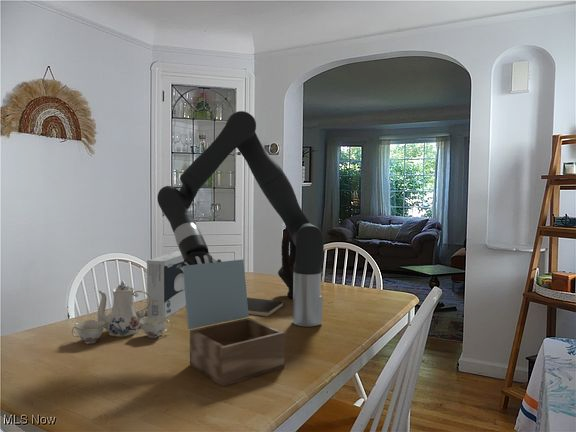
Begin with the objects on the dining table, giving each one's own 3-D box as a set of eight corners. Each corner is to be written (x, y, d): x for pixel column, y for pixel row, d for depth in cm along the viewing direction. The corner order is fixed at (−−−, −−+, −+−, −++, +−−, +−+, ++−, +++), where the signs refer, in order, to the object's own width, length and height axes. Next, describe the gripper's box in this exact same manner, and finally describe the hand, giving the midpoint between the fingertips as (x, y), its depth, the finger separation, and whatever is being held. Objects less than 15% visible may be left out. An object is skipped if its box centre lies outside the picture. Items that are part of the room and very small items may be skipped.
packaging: (163, 319, 155) (163, 261, 153) (147, 318, 156) (146, 260, 155) (198, 298, 184) (198, 249, 183) (184, 297, 186) (184, 248, 184)
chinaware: (71, 355, 125) (69, 298, 123) (72, 331, 140) (71, 279, 138) (174, 343, 137) (175, 290, 134) (165, 322, 152) (166, 273, 149)
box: (189, 364, 116) (189, 330, 115) (248, 349, 127) (248, 317, 127) (222, 386, 103) (222, 348, 103) (284, 367, 115) (284, 332, 114)
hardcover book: (267, 318, 160) (267, 311, 160) (210, 311, 168) (210, 304, 168) (283, 306, 175) (283, 301, 175) (230, 300, 183) (230, 295, 183)
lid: (189, 329, 115) (187, 328, 116) (248, 316, 126) (246, 316, 127) (184, 265, 116) (182, 265, 117) (243, 259, 128) (241, 259, 129)
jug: (294, 289, 203) (295, 222, 201) (330, 295, 192) (331, 224, 190) (265, 298, 186) (265, 225, 184) (302, 305, 175) (303, 228, 173)
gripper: (173, 235, 126) (194, 286, 118) (215, 232, 135) (237, 280, 126) (165, 251, 131) (185, 302, 122) (206, 248, 139) (227, 295, 130)
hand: (211, 291), depth 124 cm, fingers closed
